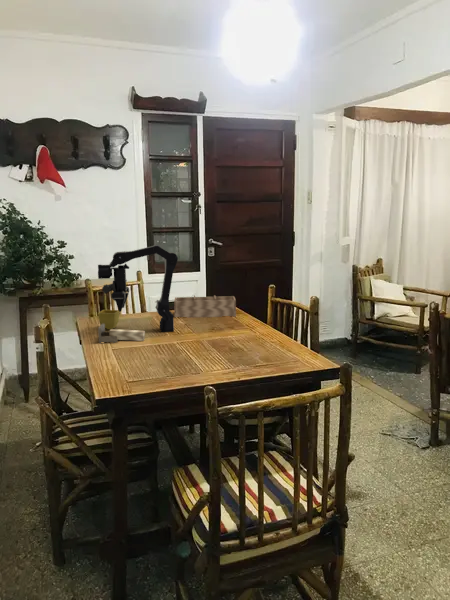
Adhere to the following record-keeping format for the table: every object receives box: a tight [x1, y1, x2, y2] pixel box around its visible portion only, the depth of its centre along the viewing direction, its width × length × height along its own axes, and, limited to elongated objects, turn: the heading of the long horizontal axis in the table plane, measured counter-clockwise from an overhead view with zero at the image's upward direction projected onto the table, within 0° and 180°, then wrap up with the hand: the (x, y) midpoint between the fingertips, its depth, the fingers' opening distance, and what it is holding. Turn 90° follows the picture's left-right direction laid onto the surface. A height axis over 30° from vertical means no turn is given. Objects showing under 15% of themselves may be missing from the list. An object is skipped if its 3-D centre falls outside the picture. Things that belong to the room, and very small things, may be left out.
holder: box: [173, 294, 237, 318], centre depth 284 cm, size 35×13×10 cm, turn 94°
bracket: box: [97, 324, 119, 344], centre depth 229 cm, size 8×10×7 cm
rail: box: [108, 328, 146, 342], centre depth 230 cm, size 16×4×4 cm, turn 87°
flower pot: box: [97, 309, 120, 330], centre depth 252 cm, size 9×9×9 cm
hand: (121, 309), depth 241 cm, fingers open, 9 cm apart
